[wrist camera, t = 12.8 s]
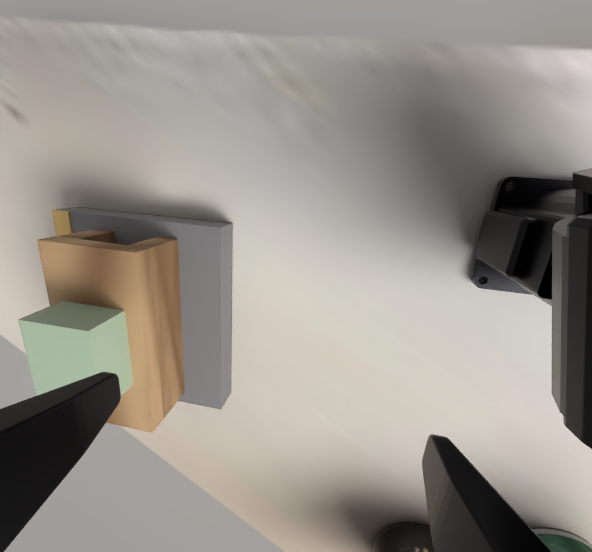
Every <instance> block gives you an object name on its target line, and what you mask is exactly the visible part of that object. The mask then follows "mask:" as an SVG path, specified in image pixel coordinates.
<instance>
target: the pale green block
mask: <svg viewBox="0 0 592 552" xmlns="http://www.w3.org/2000/svg"><path fill="white" fill-rule="evenodd" d="M18 321H19V325H20V330H21V334H22V338H23V342H24V346H25V350H26V354H27V358H28V362H29V366H30V370H31V375H32V379H33V383H34V387H35V391H36V395H37V396H38V395H40V394H43V393H46V392H48V391H51V390H54V389H57V388H59V387H62V386H65V385H68V384H70V383H73V382H76V381H79V380H81V379H84V378H87V377H90V376H92V375H95V374H98V373H101V372H110V373H115V374H117V376H118V377H119V384H120V392H121V396H122V395H123V394H124V393H125V392H126V391H127V390H128V389H129V388H130V387H131V386H132V385H134V384H133V376H132V367H131V359H130V350H129V342H128V333H127V325H126V317H125V310H118V309H112V308H105V307H99V306H92V305H86V304H79V303H73V302H66V301H62V302H59V303H57V304H55V305H52V306H50V307H47V308H45V309H42V310H40V311H38V312H35V313H33V314H30V315H28V316H26V317H23V318H21V319H18Z"/></svg>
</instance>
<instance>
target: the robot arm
mask: <svg viewBox="0 0 592 552" xmlns="http://www.w3.org/2000/svg"><path fill="white" fill-rule="evenodd" d="M508 182H511V184H512V187H511V189H510V190H508V191H507V190H506V189H505V186H506V184H507V183H508ZM475 256H476V257H477V261H476V265H475V268H474V272H473V276H472V282H473V284H475V285H476V286H477V287H479V288H483V289H491V290H500V291H508V292H516V293H524V294H532V295H535V296H536V297H538V298H540V299H541V300H543V301H545V302H546V303H548V304H549V305H551V306H552V395H553V397H554V399H555V402H556V404H557V406H558V408H559V410H560V412H561V413H562V414H563V416H564V424H565V426H566V427H567V428H568V429H569V430H570V431H571V432H572V433H573V434H574V435H575V436H576V437H577V438H578V439H579V440H581V441H582V442H583V443H584V444H586V445H587V446H588V447H590V448H591V449H592V168H591V169H586V170H581V171H577V172H573V181H565V180H551V179H537V178H523V177H505V178H503V179H502V180H501V181H499V183H498V185H497V188H496V192H495V196H494V199H493V203H492V207H491V210H490V211H489V212H487V213H486V214H485V216H484V220H483V224H482V228H481V231H480V235H479V239H478V242H477V246H476V250H475ZM481 277H485V280H484V281H483V282H479V279H480V278H481ZM120 399H121V392H120V384H119V377H118V376H117V374H115V373H110V372H101V373H98V374H95V375H92V376H90V377H87V378H84V379H81V380H79V381H76V382H73V383H70V384H68V385H65V386H62V387H59V388H57V389H54V390H51V391H48V392H46V393H43V394H40V395H38V396H35V397H33V398H29V399H27V400H24V401H21V402H18V403H16V404H13V405H10V406H8V407H5V408H2V409H0V552H4V551H5V550H6V548H7V547H8V546H9V545H10V543H11V542H12V541H13V540H14V539H15V537H16V536H17V535H18V534H19V532H20V531H21V530H22V529H23V528H24V526H25V525H26V524H27V523H28V521H29V520H30V519H31V518H32V517H33V516H34V514H35V513H36V512H37V511H38V509H39V508H40V507H41V506H42V505H43V503H44V502H45V501H46V500H47V498H48V497H49V496H50V495H51V494H52V492H53V491H54V490H55V489H56V487H57V486H58V485H59V484H60V483H61V481H62V480H63V479H64V478H65V477H66V475H67V474H68V473H69V472H70V470H71V469H72V468H73V467H74V466H75V464H76V463H77V462H78V461H79V459H80V458H81V457H82V456H83V454H84V453H85V452H86V450H87V449H88V448H89V446H90V445H91V443H92V442H93V440H94V439H95V438H96V436H97V435H98V433H99V432H100V430H101V429H102V427H103V426H104V424H105V423H106V422H107V420H108V419H109V417H110V416H111V415H112V413H113V412H114V410H115V409H116V407H117V406H118V404H119V402H120ZM422 467H423V476H424V483H425V491H426V499H427V507H428V515H429V523H430V530H431V536H432V541H433V546H434V551H435V552H552V551H551V550H550V549H549V548H548V547H547V546H546V545H545V543H544V542H543V541H542V540H541V539H540V538H539V537H538V536H537V535H536V534H535V533H534V531H533V530H532V529H531V528H530V527H529V526H528V525H527V524H526V523H525V522H524V521H523V519H522V518H521V517H520V516H519V515H518V514H517V513H516V512H515V511H514V510H513V509H512V507H511V506H510V505H509V504H508V503H507V502H506V501H505V500H504V499H503V498H502V496H501V495H500V494H499V493H498V492H497V491H496V490H495V489H494V488H493V487H492V486H491V484H490V483H489V482H488V481H487V480H486V479H485V478H484V477H483V476H482V475H481V474H480V472H479V471H478V470H477V469H476V468H475V467H474V466H473V465H472V464H471V463H470V462H469V460H468V459H467V458H466V457H465V456H464V455H463V454H462V453H461V452H460V451H459V449H458V448H457V447H456V446H455V445H454V444H453V443H452V442H451V441H450V440H449V439H448V438H447V437H444V436H439V435H433V434H432V435H430V436H429V438H428V441H427V444H426V448H425V452H424V455H423V460H422Z"/></svg>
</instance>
